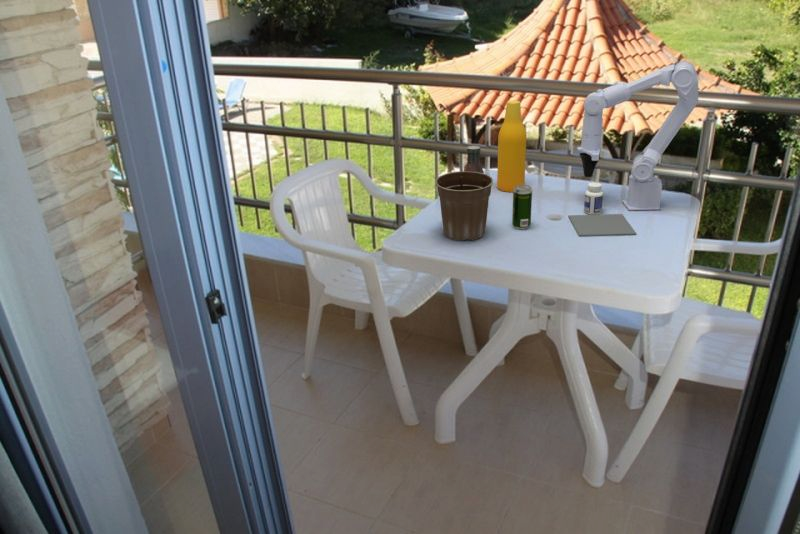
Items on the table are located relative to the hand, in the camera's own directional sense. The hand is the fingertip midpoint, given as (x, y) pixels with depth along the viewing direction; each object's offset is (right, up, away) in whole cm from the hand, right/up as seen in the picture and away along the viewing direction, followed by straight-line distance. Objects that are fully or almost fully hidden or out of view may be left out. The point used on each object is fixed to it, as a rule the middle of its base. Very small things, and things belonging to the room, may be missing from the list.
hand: (588, 176), depth 214 cm
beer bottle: (-21, -2, +18) cm, 28 cm away
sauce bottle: (-36, -10, +2) cm, 37 cm away
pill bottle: (0, -12, -4) cm, 12 cm away
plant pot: (-40, -19, -15) cm, 47 cm away
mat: (0, -16, -14) cm, 22 cm away
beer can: (-23, -17, -12) cm, 31 cm away
